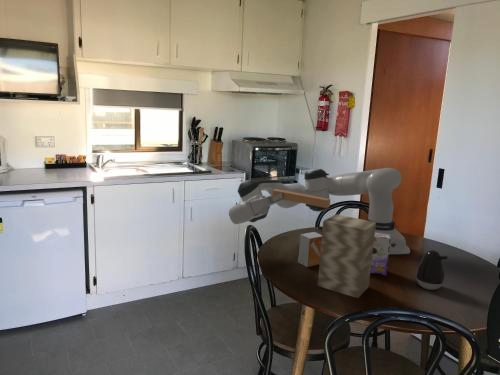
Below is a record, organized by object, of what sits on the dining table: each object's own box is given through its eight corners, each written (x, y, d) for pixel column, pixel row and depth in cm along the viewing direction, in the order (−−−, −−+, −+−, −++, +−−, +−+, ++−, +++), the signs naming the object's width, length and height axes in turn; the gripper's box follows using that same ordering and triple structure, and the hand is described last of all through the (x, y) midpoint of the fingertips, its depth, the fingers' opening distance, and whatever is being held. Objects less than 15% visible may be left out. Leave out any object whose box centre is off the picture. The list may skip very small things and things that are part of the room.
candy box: (386, 270, 180) (391, 234, 176) (386, 276, 174) (391, 238, 171) (353, 265, 184) (357, 229, 180) (352, 270, 178) (356, 233, 175)
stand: (317, 285, 162) (323, 221, 157) (330, 275, 172) (335, 214, 166) (358, 298, 154) (365, 230, 148) (368, 286, 164) (376, 222, 158)
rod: (272, 197, 173) (272, 190, 172) (275, 195, 175) (276, 188, 175) (326, 208, 160) (327, 200, 159) (329, 206, 162) (330, 198, 162)
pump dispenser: (437, 295, 159) (443, 257, 155) (410, 286, 165) (415, 249, 162) (447, 287, 166) (452, 251, 163) (420, 279, 173) (425, 243, 169)
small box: (307, 267, 179) (309, 238, 176) (297, 262, 184) (299, 234, 181) (321, 264, 183) (324, 235, 181) (311, 259, 189) (314, 231, 186)
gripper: (274, 207, 187) (300, 196, 179) (249, 217, 170) (275, 206, 162) (269, 194, 187) (294, 183, 180) (243, 202, 171) (269, 190, 163)
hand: (285, 194), depth 171 cm, fingers closed on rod, 3 cm apart
